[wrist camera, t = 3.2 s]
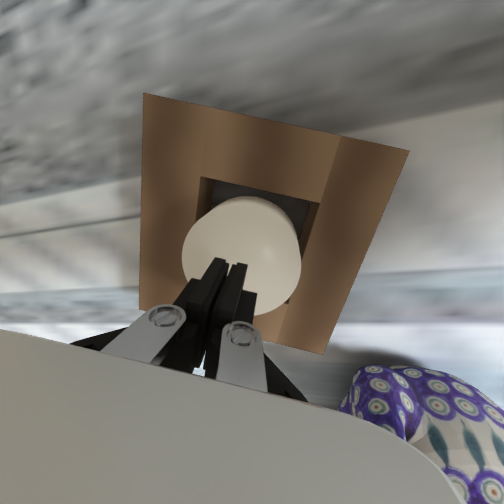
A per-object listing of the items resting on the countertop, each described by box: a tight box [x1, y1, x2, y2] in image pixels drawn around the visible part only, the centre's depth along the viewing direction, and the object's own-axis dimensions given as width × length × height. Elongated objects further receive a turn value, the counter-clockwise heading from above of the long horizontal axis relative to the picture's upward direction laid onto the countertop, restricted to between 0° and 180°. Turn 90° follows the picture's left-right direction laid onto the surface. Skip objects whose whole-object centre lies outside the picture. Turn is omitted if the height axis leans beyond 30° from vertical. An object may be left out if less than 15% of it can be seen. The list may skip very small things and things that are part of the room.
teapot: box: [337, 365, 504, 504], centre depth 19 cm, size 25×15×15 cm, turn 36°
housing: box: [139, 93, 409, 355], centre depth 19 cm, size 16×16×4 cm
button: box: [182, 196, 301, 316], centre depth 16 cm, size 7×7×4 cm
